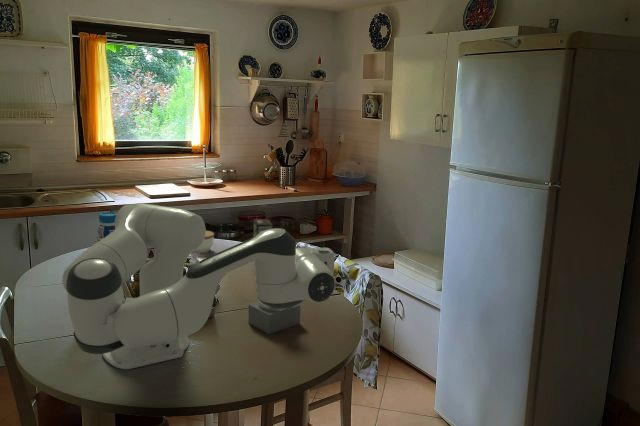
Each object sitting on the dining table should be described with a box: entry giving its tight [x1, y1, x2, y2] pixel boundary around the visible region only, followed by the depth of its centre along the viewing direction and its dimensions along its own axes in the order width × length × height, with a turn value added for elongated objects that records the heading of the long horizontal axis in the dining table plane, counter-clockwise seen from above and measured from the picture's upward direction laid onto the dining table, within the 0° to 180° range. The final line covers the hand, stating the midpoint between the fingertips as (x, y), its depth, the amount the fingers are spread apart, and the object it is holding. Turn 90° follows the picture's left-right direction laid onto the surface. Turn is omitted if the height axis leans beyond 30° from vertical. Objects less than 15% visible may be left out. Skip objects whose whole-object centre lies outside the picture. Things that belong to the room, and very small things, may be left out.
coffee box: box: [252, 218, 274, 237], centre depth 228 cm, size 9×6×16 cm
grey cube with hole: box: [247, 299, 301, 335], centre depth 169 cm, size 12×10×8 cm
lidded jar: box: [193, 230, 215, 254], centre depth 236 cm, size 11×11×9 cm
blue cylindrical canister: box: [97, 211, 118, 242], centre depth 214 cm, size 8×8×20 cm
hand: (287, 250), depth 154 cm, fingers open, 8 cm apart
